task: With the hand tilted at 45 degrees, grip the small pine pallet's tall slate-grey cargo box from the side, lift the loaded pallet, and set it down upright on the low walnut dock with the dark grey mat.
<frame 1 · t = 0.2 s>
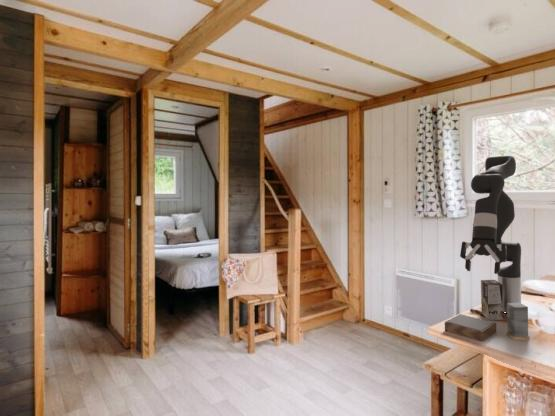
hand: (481, 272, 129), 31 cm above the table, tool tilted 20°, fingers open, 8 cm apart
loaded pallet: (517, 337, 147), on the table
coffee box: (492, 317, 169), on the table
dock: (470, 331, 155), on the table
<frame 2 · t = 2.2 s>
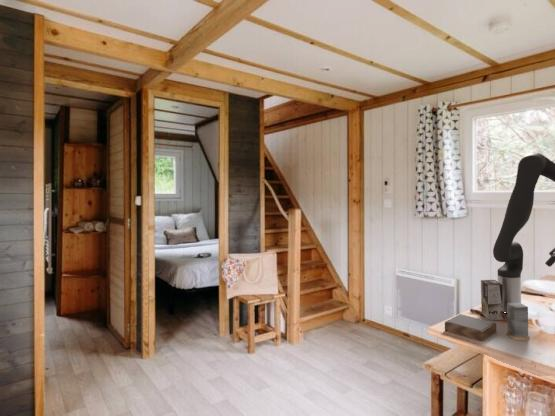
hand: (554, 267, 145), 27 cm above the table, tool tilted 45°, fingers open, 8 cm apart
nothing on the table moved.
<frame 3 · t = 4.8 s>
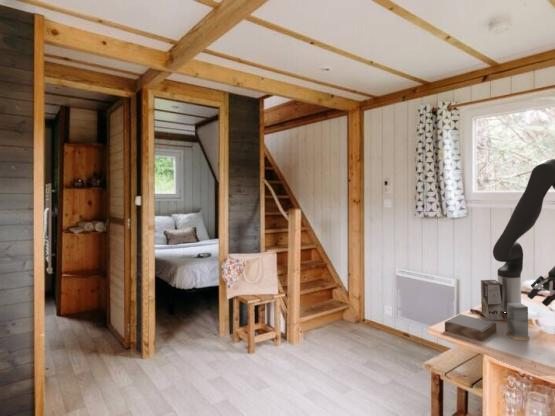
hand: (536, 301, 146), 14 cm above the table, tool tilted 45°, fingers open, 8 cm apart
nothing on the table moved.
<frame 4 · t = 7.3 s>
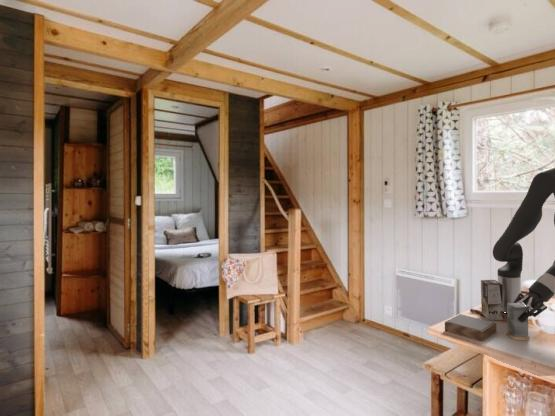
hand: (515, 318, 146), 8 cm above the table, tool tilted 45°, fingers closed on loaded pallet, 5 cm apart
loaded pallet: (517, 337, 147), on the table, touching gripper
everything else where it was.
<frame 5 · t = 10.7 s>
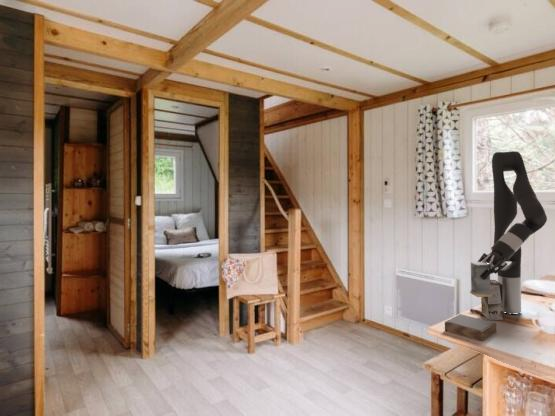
hand: (478, 276, 151), 24 cm above the table, tool tilted 45°, fingers closed on loaded pallet, 5 cm apart
loaded pallet: (480, 294, 152), point 16 cm above the table, touching gripper
everything else where it was.
when the fingers open (13 cm above the table, at t = 14.2 s): loaded pallet drops 2 cm, resting on dock.
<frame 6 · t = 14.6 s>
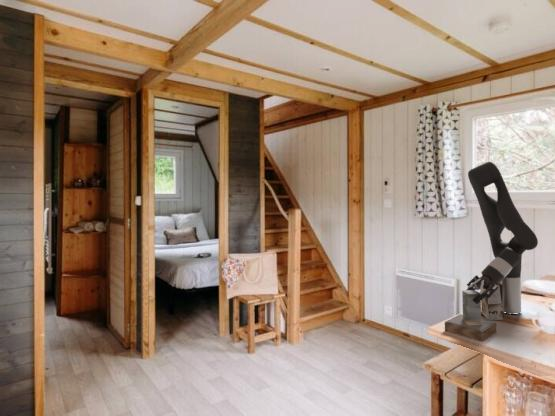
hand: (469, 299, 153), 14 cm above the table, tool tilted 45°, fingers open, 8 cm apart
loaded pallet: (471, 322, 154), point 4 cm above the table, touching dock
everything else where it was.
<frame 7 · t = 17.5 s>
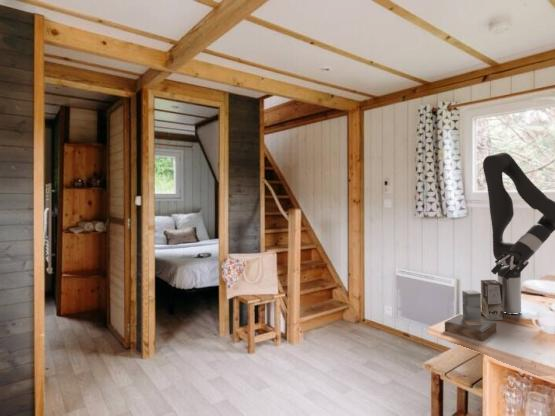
hand: (498, 275, 153), 23 cm above the table, tool tilted 45°, fingers open, 8 cm apart
nothing on the table moved.
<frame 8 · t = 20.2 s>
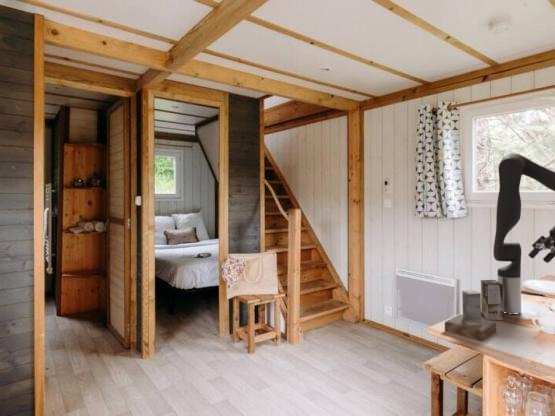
hand: (537, 259, 146), 31 cm above the table, tool tilted 45°, fingers open, 8 cm apart
nothing on the table moved.
at the end: loaded pallet inside the target area on the dock (0.9 cm from its centre), point 4.0 cm above the dock's base; loaded pallet tilted 0°; the gripper is holding nothing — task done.
